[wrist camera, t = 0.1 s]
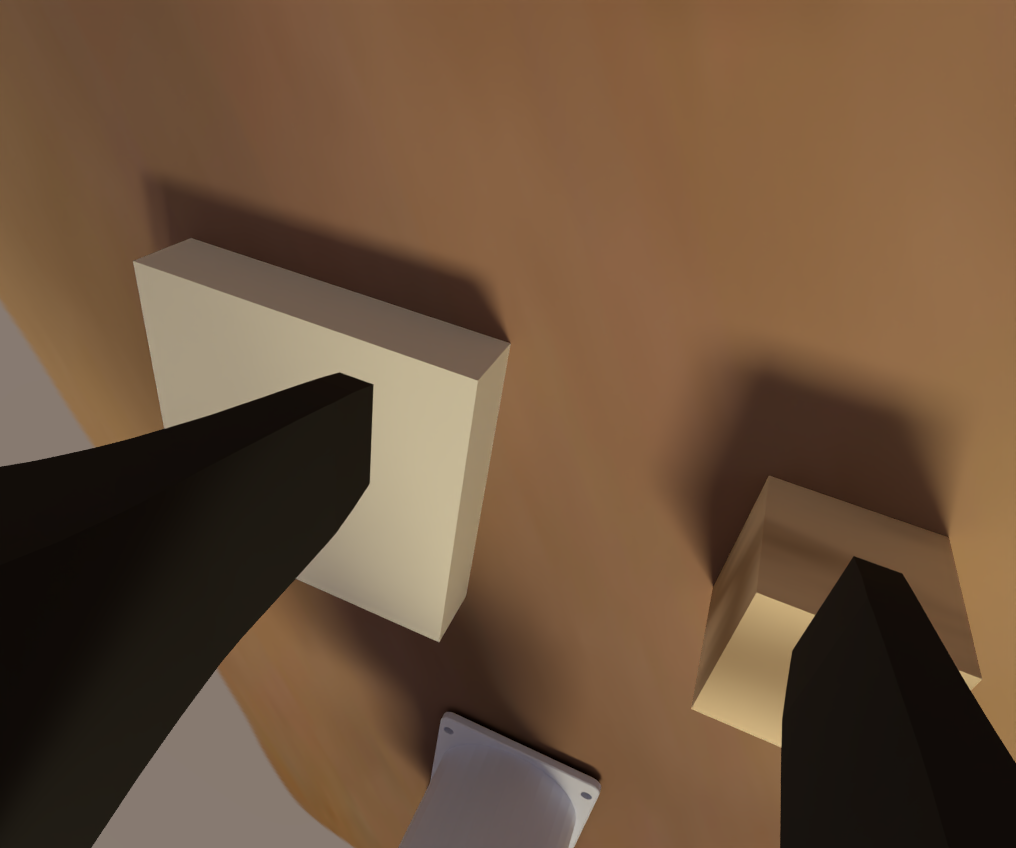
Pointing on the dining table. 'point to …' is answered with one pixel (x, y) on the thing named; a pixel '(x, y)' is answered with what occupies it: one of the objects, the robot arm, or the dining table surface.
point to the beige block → (395, 419)
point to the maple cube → (809, 597)
